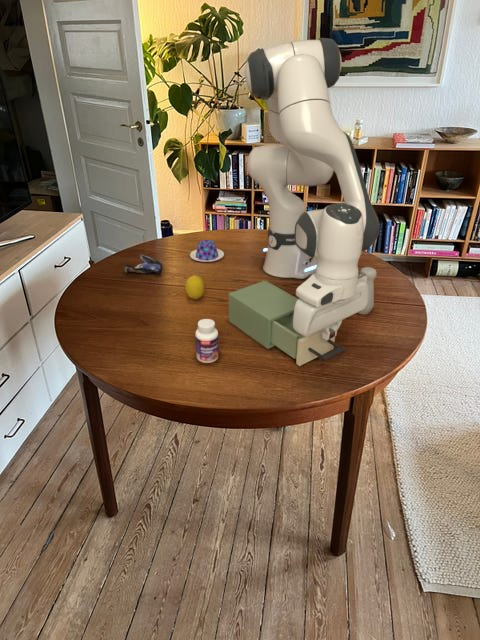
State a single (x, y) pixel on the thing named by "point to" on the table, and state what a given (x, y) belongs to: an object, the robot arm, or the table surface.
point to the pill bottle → (207, 341)
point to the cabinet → (259, 309)
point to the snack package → (145, 266)
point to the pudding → (206, 252)
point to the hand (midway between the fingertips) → (328, 337)
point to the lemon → (194, 287)
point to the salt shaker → (369, 288)
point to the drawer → (302, 342)
